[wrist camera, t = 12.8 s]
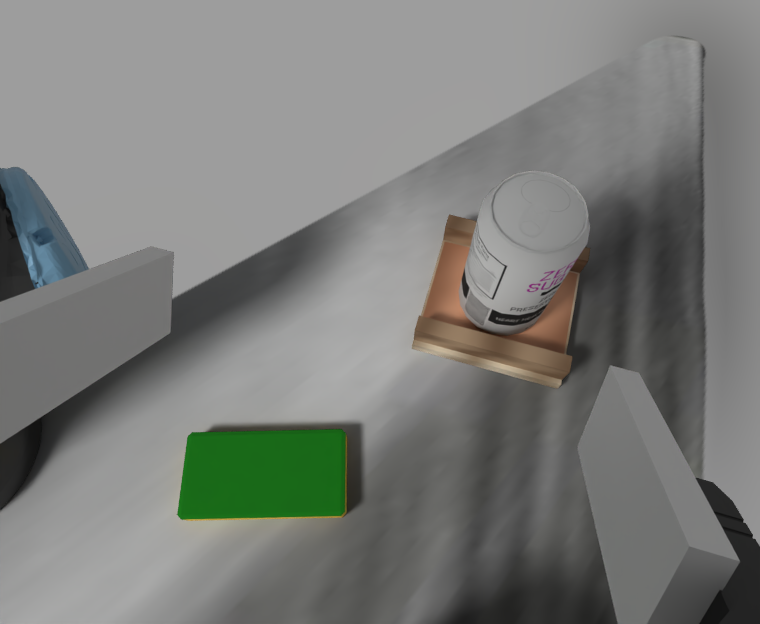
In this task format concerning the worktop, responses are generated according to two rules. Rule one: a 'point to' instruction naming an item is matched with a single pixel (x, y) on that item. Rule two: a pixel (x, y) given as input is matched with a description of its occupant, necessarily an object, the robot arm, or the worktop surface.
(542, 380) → the groove board
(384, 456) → the worktop surface
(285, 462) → the dish sponge
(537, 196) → the supplement can
